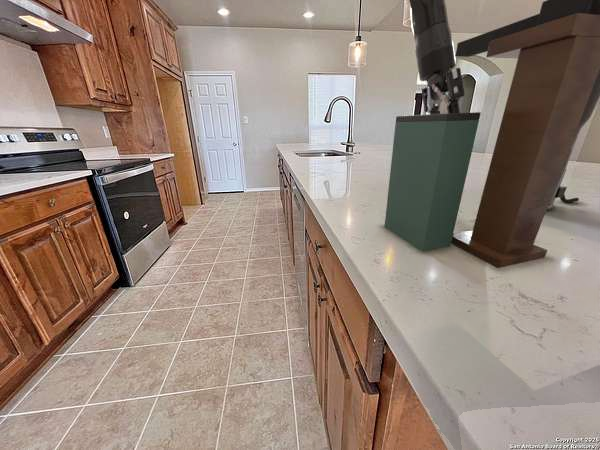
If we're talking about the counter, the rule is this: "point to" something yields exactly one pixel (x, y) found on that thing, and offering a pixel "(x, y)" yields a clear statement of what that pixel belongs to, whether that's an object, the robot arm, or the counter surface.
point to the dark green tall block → (429, 176)
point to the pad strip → (529, 23)
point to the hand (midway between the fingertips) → (445, 123)
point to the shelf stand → (533, 135)
